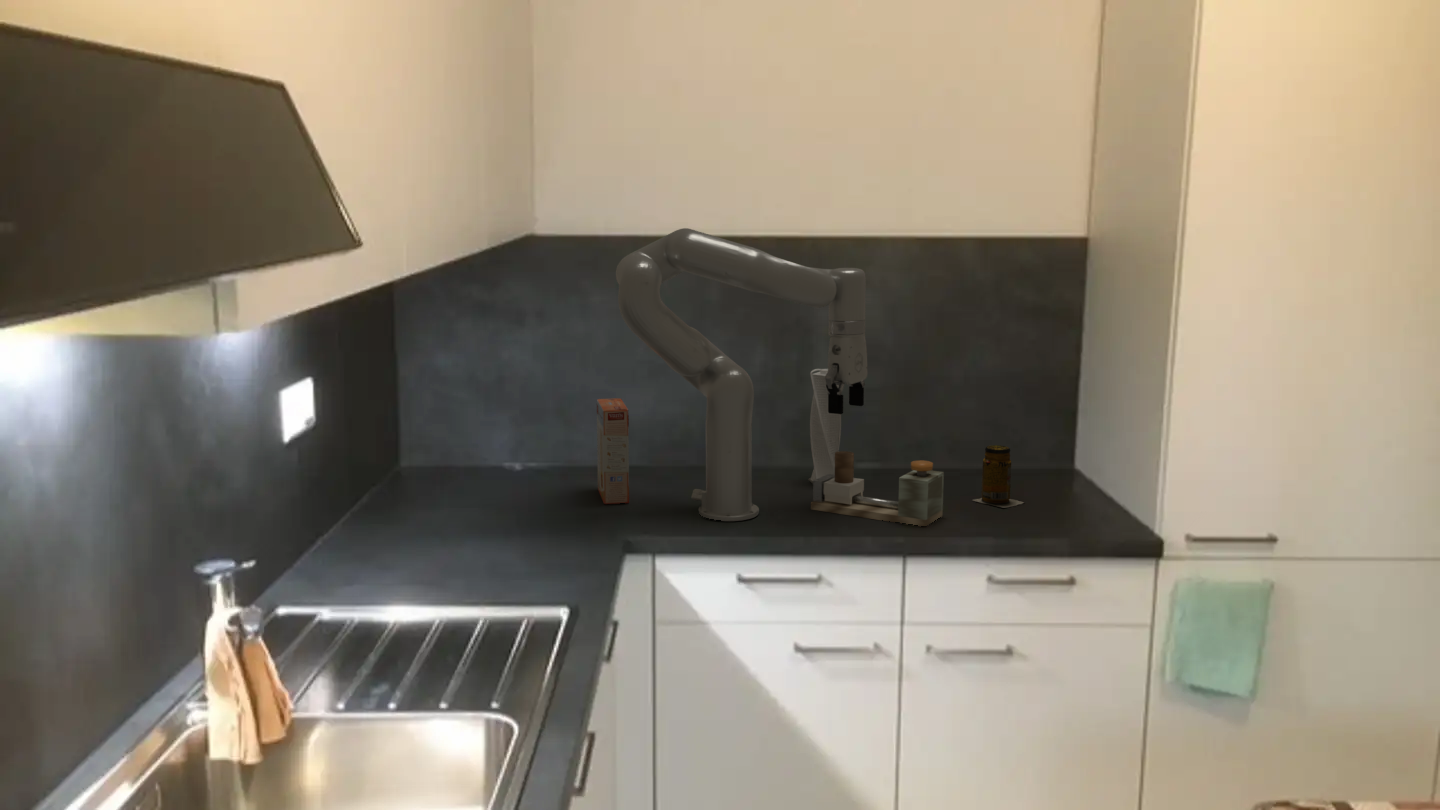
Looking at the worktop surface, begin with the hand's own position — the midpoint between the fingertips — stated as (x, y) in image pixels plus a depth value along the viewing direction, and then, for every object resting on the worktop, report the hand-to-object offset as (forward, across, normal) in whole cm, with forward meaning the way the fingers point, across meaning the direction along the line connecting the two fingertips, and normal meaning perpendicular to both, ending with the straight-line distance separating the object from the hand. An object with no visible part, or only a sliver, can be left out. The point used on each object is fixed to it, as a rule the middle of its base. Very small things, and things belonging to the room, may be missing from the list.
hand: (846, 409), depth 267 cm
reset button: (+13, 0, -17) cm, 21 cm away
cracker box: (+21, -18, +48) cm, 55 cm away
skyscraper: (+22, +16, +13) cm, 30 cm away
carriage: (+19, 0, 0) cm, 19 cm away
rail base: (+21, 0, -7) cm, 23 cm away
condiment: (+22, +21, -26) cm, 40 cm away
